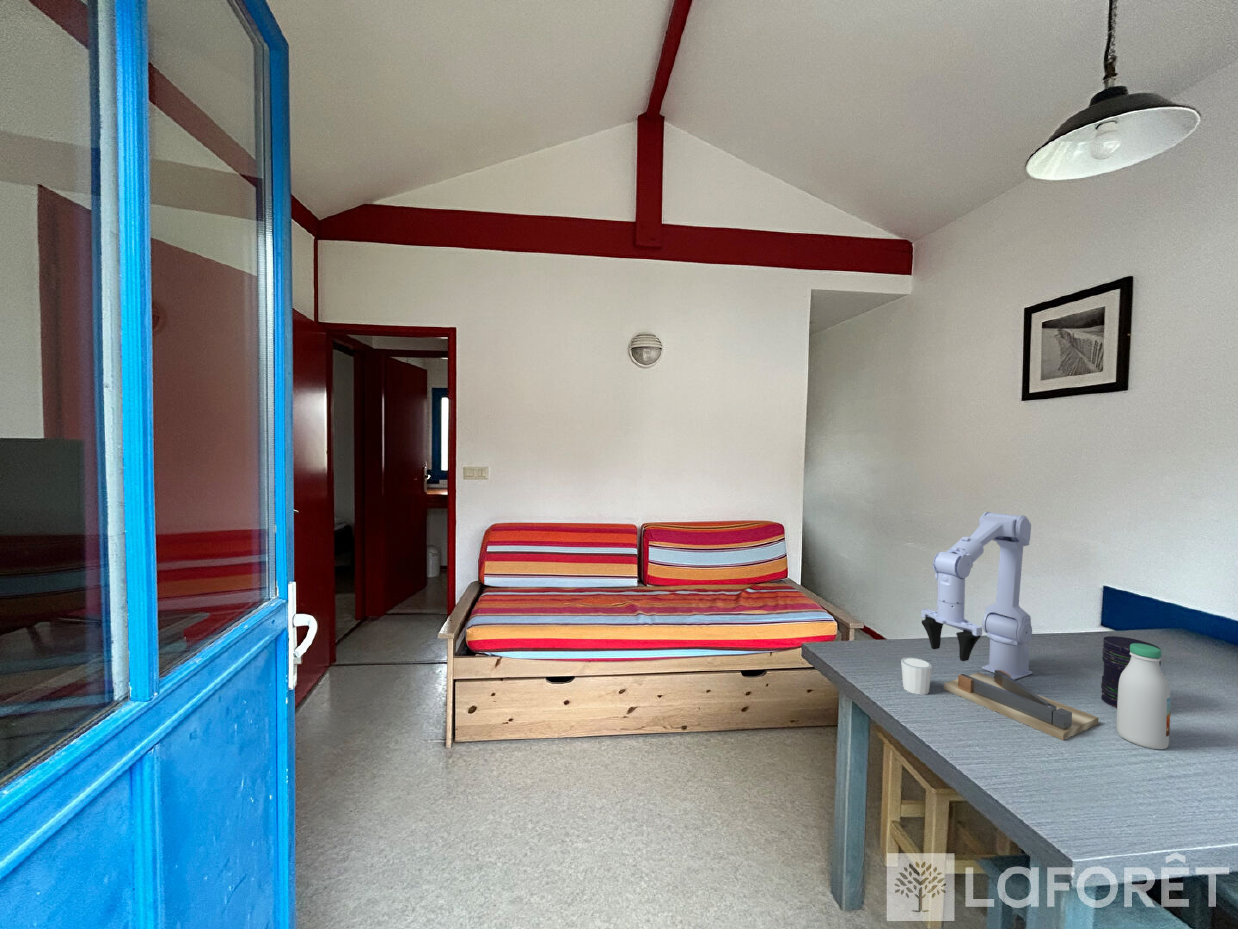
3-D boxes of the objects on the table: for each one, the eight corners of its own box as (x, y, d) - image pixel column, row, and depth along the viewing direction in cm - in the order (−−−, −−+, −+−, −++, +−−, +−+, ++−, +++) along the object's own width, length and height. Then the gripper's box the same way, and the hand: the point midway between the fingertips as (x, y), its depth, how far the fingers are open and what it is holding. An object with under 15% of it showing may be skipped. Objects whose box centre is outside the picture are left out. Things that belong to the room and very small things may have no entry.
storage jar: (1101, 691, 129) (1103, 633, 128) (1158, 705, 122) (1160, 643, 121) (1099, 705, 122) (1101, 643, 121) (1159, 720, 115) (1162, 655, 114)
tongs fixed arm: (967, 684, 129) (967, 672, 129) (1071, 726, 109) (1072, 712, 109) (957, 687, 127) (958, 675, 127) (1061, 730, 108) (1062, 716, 108)
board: (978, 678, 136) (978, 672, 136) (1098, 724, 113) (1098, 717, 113) (943, 689, 129) (943, 683, 129) (1063, 740, 107) (1063, 733, 107)
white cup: (936, 697, 125) (936, 669, 125) (905, 694, 127) (906, 667, 126) (925, 684, 132) (925, 658, 132) (896, 682, 133) (897, 656, 133)
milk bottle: (1160, 754, 102) (1164, 657, 101) (1109, 735, 109) (1113, 643, 108) (1175, 744, 106) (1178, 650, 105) (1125, 726, 112) (1128, 637, 112)
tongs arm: (1002, 681, 130) (1002, 670, 130) (1060, 721, 111) (1061, 708, 111) (993, 681, 130) (993, 670, 130) (1049, 721, 111) (1049, 707, 111)
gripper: (913, 594, 132) (912, 645, 132) (967, 611, 118) (966, 668, 119) (933, 591, 134) (931, 642, 135) (988, 608, 121) (987, 664, 121)
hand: (949, 654), depth 127 cm, fingers open, 7 cm apart
